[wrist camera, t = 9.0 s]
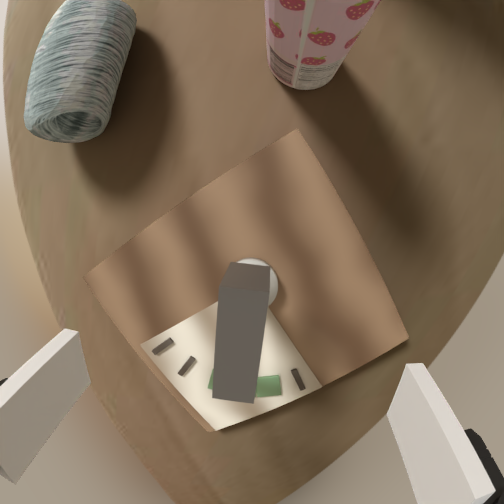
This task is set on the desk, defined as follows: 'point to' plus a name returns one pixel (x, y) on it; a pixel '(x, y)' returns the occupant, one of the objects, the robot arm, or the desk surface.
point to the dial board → (288, 274)
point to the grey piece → (241, 328)
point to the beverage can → (312, 37)
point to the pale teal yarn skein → (78, 70)
